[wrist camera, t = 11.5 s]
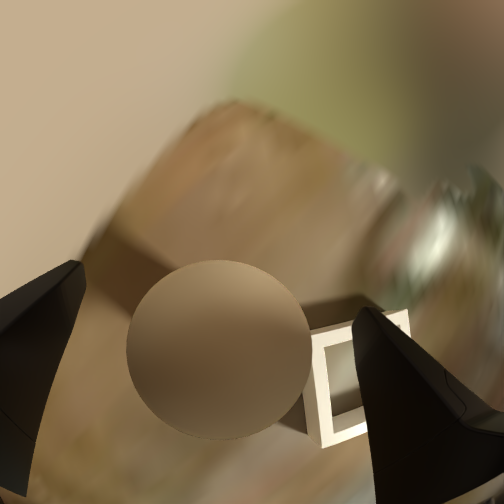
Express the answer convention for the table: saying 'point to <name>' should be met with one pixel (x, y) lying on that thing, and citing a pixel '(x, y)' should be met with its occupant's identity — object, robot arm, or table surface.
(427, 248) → the table surface
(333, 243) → the table surface
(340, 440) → the pocket
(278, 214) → the table surface
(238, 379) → the peg
